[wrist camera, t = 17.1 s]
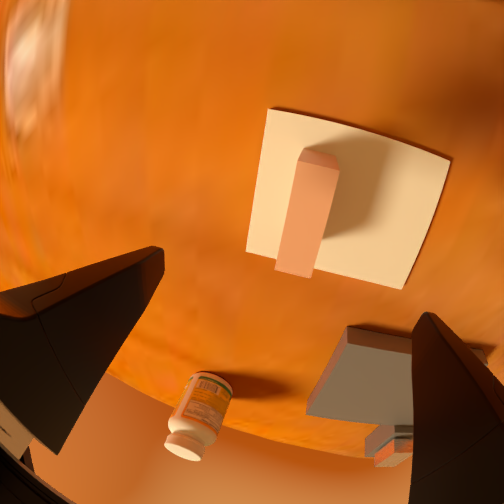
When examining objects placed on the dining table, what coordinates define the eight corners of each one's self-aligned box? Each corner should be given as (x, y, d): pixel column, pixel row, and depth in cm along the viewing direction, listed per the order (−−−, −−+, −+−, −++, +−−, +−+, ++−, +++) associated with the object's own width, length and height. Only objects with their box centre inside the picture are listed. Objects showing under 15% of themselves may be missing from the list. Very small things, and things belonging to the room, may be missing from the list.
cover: (444, 158, 15) (483, 179, 10) (398, 282, 20) (413, 330, 15) (271, 109, 17) (250, 109, 12) (249, 245, 22) (226, 287, 17)
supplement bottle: (218, 368, 29) (186, 443, 21) (242, 396, 31) (218, 466, 22) (181, 372, 31) (147, 437, 23) (206, 398, 33) (179, 460, 25)
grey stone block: (414, 438, 24) (414, 452, 23) (393, 454, 27) (393, 466, 25) (393, 438, 25) (394, 452, 23) (374, 453, 27) (374, 466, 25)
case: (482, 349, 20) (491, 371, 18) (395, 440, 30) (395, 457, 28) (346, 326, 22) (347, 352, 20) (290, 428, 32) (286, 447, 30)
